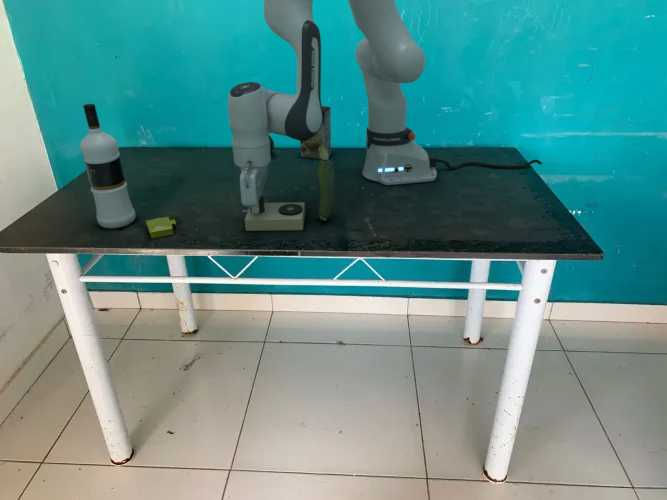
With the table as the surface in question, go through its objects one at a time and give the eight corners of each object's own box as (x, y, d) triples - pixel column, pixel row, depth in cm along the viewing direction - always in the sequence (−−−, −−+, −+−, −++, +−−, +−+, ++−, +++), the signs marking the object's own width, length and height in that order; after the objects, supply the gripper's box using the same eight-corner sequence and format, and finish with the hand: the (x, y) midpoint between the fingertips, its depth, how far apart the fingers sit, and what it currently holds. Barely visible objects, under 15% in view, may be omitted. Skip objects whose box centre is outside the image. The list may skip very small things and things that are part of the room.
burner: (303, 205, 133) (303, 203, 133) (301, 215, 128) (301, 213, 128) (279, 205, 134) (279, 203, 133) (277, 215, 128) (277, 213, 128)
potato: (277, 148, 184) (275, 125, 180) (274, 160, 172) (272, 136, 168) (253, 148, 183) (251, 126, 180) (249, 161, 172) (246, 137, 168)
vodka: (131, 228, 130) (103, 108, 116) (93, 231, 130) (60, 110, 115) (140, 213, 138) (114, 98, 124) (104, 215, 138) (74, 100, 123)
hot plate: (305, 212, 137) (304, 201, 135) (302, 230, 128) (302, 218, 126) (246, 213, 137) (245, 202, 135) (240, 230, 128) (238, 219, 127)
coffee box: (299, 157, 175) (297, 109, 167) (306, 151, 180) (304, 104, 172) (325, 159, 172) (324, 110, 164) (332, 153, 177) (331, 106, 169)
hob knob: (265, 207, 133) (264, 194, 131) (263, 213, 129) (262, 200, 128) (251, 207, 133) (250, 194, 131) (249, 214, 129) (247, 200, 128)
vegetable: (331, 216, 135) (329, 140, 125) (338, 222, 131) (337, 145, 121) (315, 219, 133) (312, 143, 123) (323, 226, 129) (320, 148, 120)
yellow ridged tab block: (140, 225, 132) (138, 215, 130) (177, 218, 135) (175, 208, 134) (145, 242, 124) (143, 231, 122) (184, 234, 127) (182, 224, 126)
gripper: (259, 170, 115) (264, 226, 122) (270, 141, 133) (274, 192, 139) (230, 170, 115) (237, 226, 122) (245, 142, 133) (250, 192, 139)
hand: (257, 208), depth 131 cm, fingers closed on hob knob, 4 cm apart
